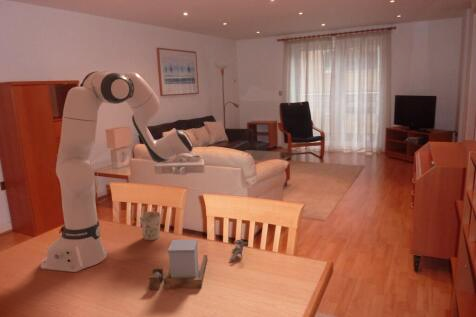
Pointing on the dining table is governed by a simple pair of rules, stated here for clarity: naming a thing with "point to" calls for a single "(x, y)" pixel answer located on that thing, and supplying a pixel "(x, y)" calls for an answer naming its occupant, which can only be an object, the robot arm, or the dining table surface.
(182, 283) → the bay
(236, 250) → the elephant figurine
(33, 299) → the dining table surface
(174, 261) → the gray rectangular block
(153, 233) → the mug
